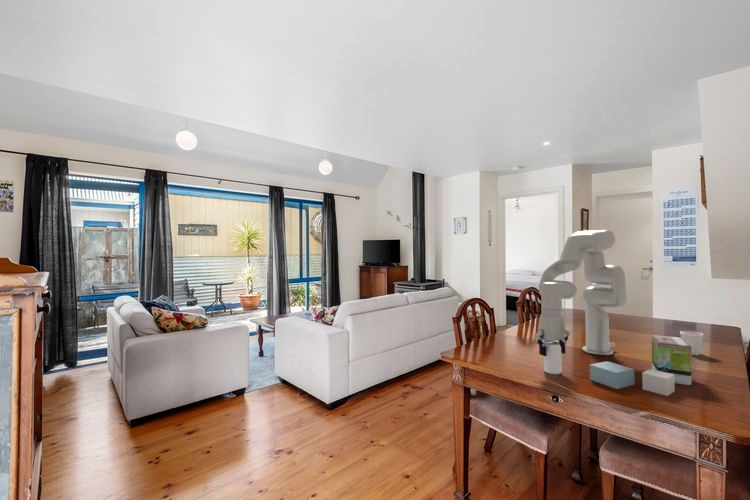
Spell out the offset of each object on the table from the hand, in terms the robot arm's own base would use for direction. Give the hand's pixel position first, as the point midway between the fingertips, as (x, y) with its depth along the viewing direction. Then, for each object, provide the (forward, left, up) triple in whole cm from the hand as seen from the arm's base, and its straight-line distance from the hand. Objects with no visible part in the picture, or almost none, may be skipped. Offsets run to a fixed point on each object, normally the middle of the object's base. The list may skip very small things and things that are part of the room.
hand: (552, 354), depth 141 cm
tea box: (-38, +20, -8) cm, 44 cm away
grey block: (-20, +27, -7) cm, 34 cm away
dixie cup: (-81, +3, -8) cm, 81 cm away
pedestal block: (-12, +16, -8) cm, 21 cm away
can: (0, 0, -8) cm, 8 cm away
